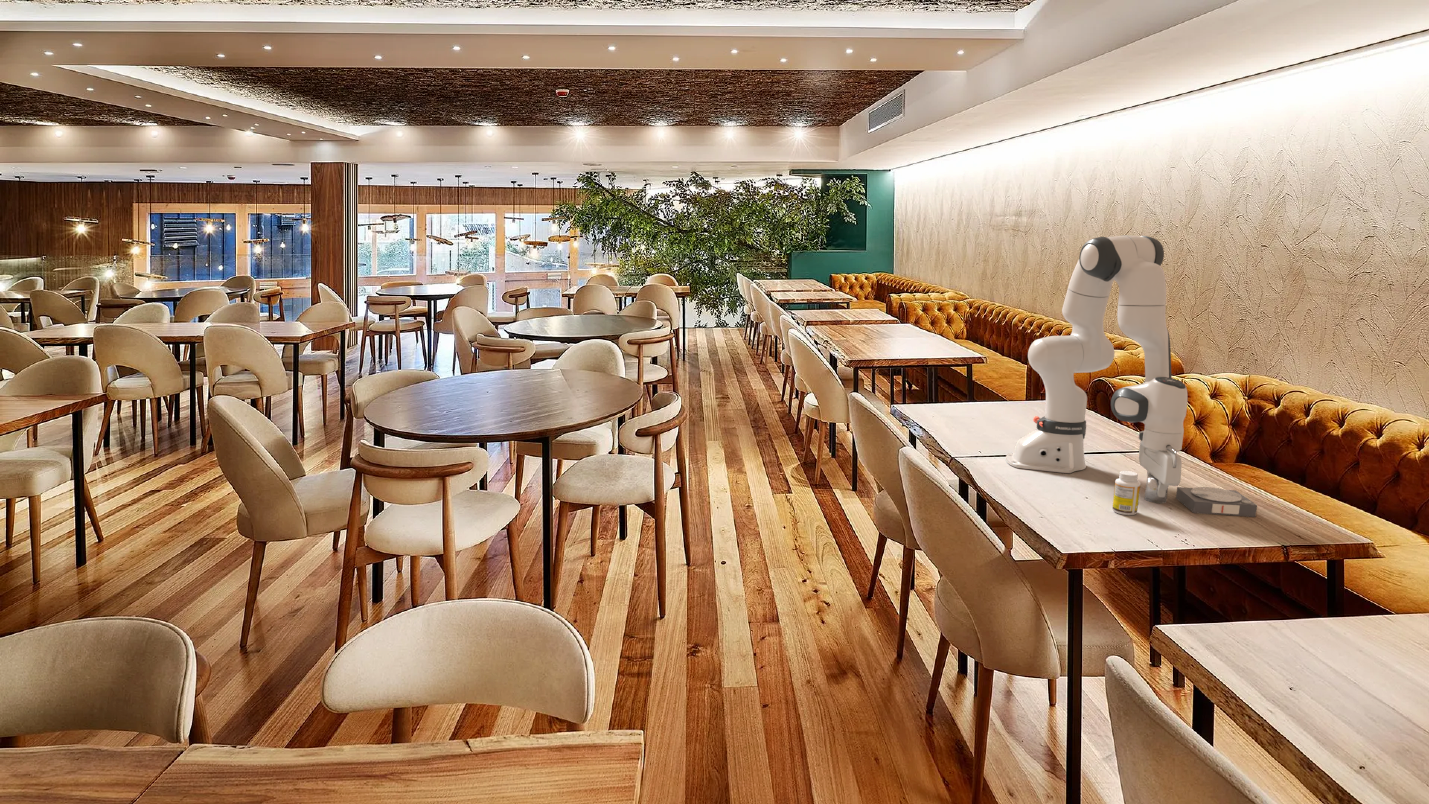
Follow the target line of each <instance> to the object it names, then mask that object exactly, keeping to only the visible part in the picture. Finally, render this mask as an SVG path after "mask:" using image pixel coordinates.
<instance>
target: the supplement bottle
mask: <svg viewBox="0 0 1429 804" xmlns="http://www.w3.org/2000/svg"><path fill="white" fill-rule="evenodd" d="M1118 477H1119V478H1116V479H1115V481H1114V482H1115V483H1114V491H1113V492H1114V493H1113V501H1112V510H1113V512H1115V513H1117V514H1118V515H1123V516H1135V515H1136V514H1137V513H1138V507H1139V498H1140V490H1141V482H1140V481H1139V480H1138V473H1137V472H1135V471H1131V470H1130V471H1129V470H1121V471H1119V476H1118Z"/></svg>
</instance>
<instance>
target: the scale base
mask: <svg viewBox="0 0 1429 804" xmlns="http://www.w3.org/2000/svg"><path fill="white" fill-rule="evenodd" d="M1176 487H1177V488H1176V495H1175V499H1177V500H1178V502H1180V503H1182V505H1183V506H1185V507H1186V508H1187V509H1188V510H1190V511H1191V512H1192V513H1193V514H1206V515H1221V516H1236V517H1253V518H1256V515H1257V510H1258V509H1257V508H1258V505H1257V504H1256V503H1255V502H1254V501H1252V500H1251V499H1248V498H1247V497H1246V496H1245V495H1243V494H1241V493H1240V492H1238V491H1237V490H1235V489H1234V490H1233V489H1228V490H1229V491H1232V492H1235V493H1237V494H1239V495H1241V496H1242V500H1241V501H1240V502H1236V503H1222V502H1214V501H1209V500H1205V499H1201V498H1198V497H1196V496H1194V495H1192V494H1191V489H1193V488H1194V487H1183V486H1181V487H1180V486H1176Z"/></svg>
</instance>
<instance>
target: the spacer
mask: <svg viewBox="0 0 1429 804" xmlns="http://www.w3.org/2000/svg"><path fill="white" fill-rule="evenodd" d="M1146 476H1147V475H1146ZM1158 482H1159V480H1158V479H1157V478H1155V477H1154V476H1153V475H1150V476H1147V477H1146V484H1145V490H1144V500H1145V501H1147V502H1149V503H1154V504H1165V503H1167V499H1168V492H1169V491H1168V489H1169V487H1168V488H1167V490H1166V495H1165V497H1159V496H1158V495H1157V494H1156V490H1157V488H1158V486H1159V483H1158Z"/></svg>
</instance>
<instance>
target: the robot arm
mask: <svg viewBox="0 0 1429 804" xmlns="http://www.w3.org/2000/svg"><path fill="white" fill-rule="evenodd" d="M1078 257H1079V258H1078V260H1077V262H1076V265H1075V267H1074V269H1073V271H1072V274H1071V277H1070V280H1069V283H1068V286H1067V290H1066V293H1065V296H1064V299H1063V300H1064V301H1063V304H1062V308H1061V313H1062V316H1063V318H1064V319H1065V321H1067V322H1068V323H1069V324H1071V325H1072V327H1071V328H1072V329H1071V330H1072V331H1071V333H1070V335H1051V336H1045V337H1041V338H1037V339H1035V340H1034V341H1033V342H1031V344H1030V346H1029V348H1028V350H1027V351H1028V352H1027V359H1028V363H1029V365H1030V366H1031V368H1032V369H1033V370H1034V371H1035V372H1036V373H1037V374H1039V376H1040V378H1041V380H1042V382H1043V385H1044V389H1045V410H1044V416H1042V417H1040V416H1038V415H1035V416H1034V417H1033V418H1032V420H1033V422H1034V423H1035V424H1036V428H1035V429H1034V430H1032V431H1030V432H1029V433H1027V434H1025V435H1024V436H1022V437H1020V438H1019V439H1018V440H1017V442H1016V444H1015V446H1014V451H1013V452H1011V453H1007V454H1006V455H1005V461H1006V463H1008V465H1010V466H1011V467H1013V468H1017V469H1026V470H1034V471H1043V472H1044V471H1045V472H1055V473H1063V474H1064V473H1065V474H1071V473H1073V472H1076V471H1083V470H1085V469H1086V468H1087V464H1086V459H1085V451H1084V449H1085V448H1084V441H1085V438H1086V437H1085V436H1086V434H1087V420H1086V412H1087V404H1088V403H1087V401H1088V396H1087V393H1086V391H1085V390H1083V388H1081V387H1079V386H1078V385H1077V384H1076V382H1075V377H1074V375H1075V374H1077V373H1078V374H1079V373H1080V374H1081V373H1094V372H1097V371H1098V372H1099V371H1101V370H1106V369H1107V368H1109V367H1110V366H1111V365H1112V363H1113V362H1114V359H1115V349H1114V348H1115V347H1114V344H1112V342H1111V340H1110V339H1109V338H1108V337H1107V336H1106V334H1105V329H1104V318H1105V314H1106V309H1107V306H1108V301H1109V298H1110V295H1111V292H1112V286H1113V284H1114V281H1115V283H1117V285H1118V301H1117V312H1116V313H1117V314H1116V317H1117V324H1118V328H1119V329H1120V331H1121V332H1122V334H1124V335H1125V336H1126V337H1128V339H1129V338H1130V339H1131V340H1133V341H1135V342H1136V343H1138V344H1139V345H1140V347H1141V348H1142V350H1143V353H1144V375H1145V376H1144V377H1145V378H1144V382H1143V383H1139V384H1133V385H1129V386H1125V387H1121V388H1118V389H1117V390H1115V392H1114V393H1113V394H1112V397H1111V399H1110V409H1111V411H1112V413H1113V415H1114V416H1115V418H1116V419H1118V420H1119V421H1120V422H1126V423H1138V422H1139V423H1143V424H1144V430H1142V431H1139V433H1138V440H1139V441H1140V442H1139V446H1138V447H1139V448H1138V451H1139V452H1138V461H1139V465H1140V466H1141V467H1142V468H1143V469H1145V470H1146V472H1147V473H1146V476H1150V475H1153V476H1154V477H1155V478H1157V479H1158V480H1159V482H1158V483H1159V486H1158V488H1157V490H1156V494H1157V495H1158V496H1159V497H1165V495H1166V490H1167V488H1168V489H1169V487H1179V485H1180V483H1181V479H1182V457H1181V456H1180V455H1179V454H1178V452H1179V451H1181V450H1182V448H1183V447H1182V446H1183V442H1184V441H1183V439H1184V433H1185V430H1184V421H1185V418H1186V416H1187V410H1188V389H1187V386H1186V384H1185V383H1184V382H1182V381H1180V380H1178V379H1176V378H1173V377H1172V353H1171V351H1172V350H1171V349H1172V348H1171V337H1170V333H1169V330H1168V327H1167V321H1166V319H1167V318H1166V307H1167V306H1166V305H1167V284H1166V283H1167V282H1166V276H1165V275H1166V274H1165V271H1164V268H1163V267H1162V263H1163V262H1164V257H1165V250H1164V247H1163V244H1162V242H1160V241H1159V240H1158V239H1156V238H1154V237H1151V236H1148V235H1133V234H1132V235H1130V234H1129V235H1128V234H1122V235H1115V236H1113V235H1112V236H1099V237H1095V238H1091V239H1088V240H1087V241H1086V242H1085V243H1084V244H1083V245H1082V246H1081V249H1080V252H1079V256H1078Z"/></svg>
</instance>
